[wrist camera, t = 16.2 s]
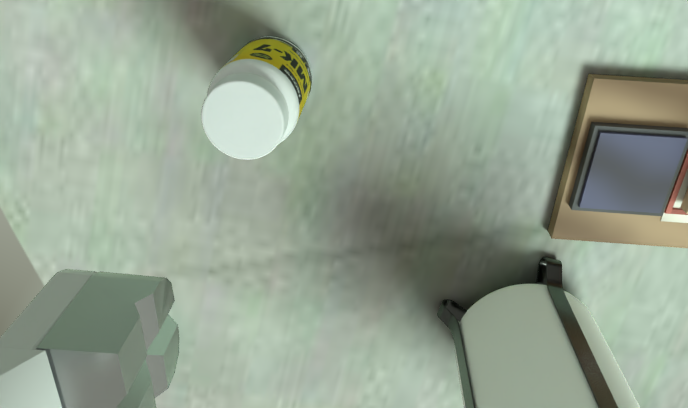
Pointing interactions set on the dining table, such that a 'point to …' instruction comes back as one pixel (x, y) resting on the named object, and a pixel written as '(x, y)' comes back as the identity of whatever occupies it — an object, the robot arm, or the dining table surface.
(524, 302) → the coffee press
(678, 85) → the station board
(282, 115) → the supplement bottle
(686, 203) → the stamp
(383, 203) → the dining table surface
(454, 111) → the dining table surface
